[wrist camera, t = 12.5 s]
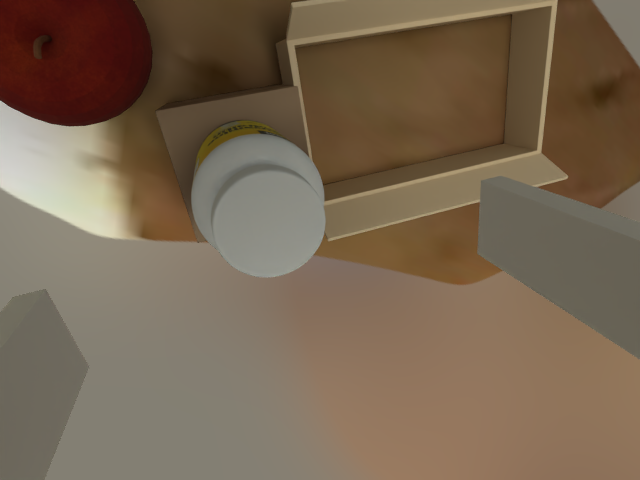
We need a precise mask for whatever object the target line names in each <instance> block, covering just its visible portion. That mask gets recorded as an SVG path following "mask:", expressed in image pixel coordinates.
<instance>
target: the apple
mask: <svg viewBox="0 0 640 480" xmlns="http://www.w3.org/2000/svg"><path fill="white" fill-rule="evenodd" d="M151 68H152V47H151V40H150V35H149V32H148V29H147V26H146V24H145V21H144V18H143V17H142V15H141V13H140V11H139V9H138V8H137V6H136V4H135V2H134V1H133V0H0V100H1V101H2V102H4V103H5V104H6V105H8V106H9V107H11V108H13V109H15V110H18V111H20V112H22V113H24V114H26V115H28V116H30V117H32V118H35V119H38V120H41V121H44V122H48V123H51V124H57V125H63V126H86V125H91V124H95V123H100V122H104V121H107V120H109V119H111V118H113V117H116V116H118V115H120V114H121V113H122V112H124V111H125V110H127V109H128V108H129V107H131V106H132V105H133V103H134V102H135V101H136V100H137V99H138V98H139V97H140V95H141V94H142V92H143V90H144V88H145V86H146V84H147V83H148V79H149V75H150V72H151Z"/></svg>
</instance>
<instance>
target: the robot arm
mask: <svg viewBox="0 0 640 480" xmlns="http://www.w3.org/2000/svg"><path fill="white" fill-rule="evenodd" d="M478 254H479V255H480V256H482V257H483V258H485V259H486V260H488V261H489V262H491V263H492V264H494V265H495V266H497V267H499V268H500V269H502V270H503V271H505V272H506V273H508V274H509V275H511V276H513V277H514V278H515V279H517V280H519V281H520V282H522V283H523V284H525V285H526V286H528V287H529V288H531V289H532V290H534V291H535V292H537V293H538V294H540V295H542V296H543V297H545V298H546V299H548V300H549V301H551V302H552V303H554V304H555V305H557V306H558V307H560V308H562V309H563V310H565V311H566V312H568V313H569V314H571V315H572V316H574V317H575V318H577V319H578V320H580V321H581V322H583V323H585V324H586V325H588V326H589V327H591V328H592V329H594V330H595V331H597V332H598V333H600V334H602V335H603V336H604V337H606V338H608V339H609V340H611V341H612V342H614V343H615V344H617V345H619V346H620V347H621V348H623V349H625V350H626V351H628V352H629V353H631V354H632V355H634V356H635V357H637V358H638V359H640V222H638V221H635V220H632V219H629V218H626V217H623V216H620V215H617V214H614V213H611V212H608V211H605V210H602V209H599V208H596V207H593V206H590V205H587V204H584V203H581V202H578V201H575V200H572V199H569V198H566V197H563V196H560V195H557V194H554V193H551V192H548V191H545V190H542V189H540V188H537V187H534V186H531V185H528V184H525V183H522V182H519V181H516V180H513V179H510V178H507V177H504V176H497V177H493V178H489V179H485V180H481V190H480V212H479V234H478ZM88 368H89V366H88V364H87V362H86V360H85V358H84V357H83V355H82V353H81V351H80V349H79V348H78V346H77V344H76V342H75V341H74V339H73V337H72V335H71V333H70V332H69V330H68V328H67V326H66V325H65V323H64V321H63V319H62V317H61V316H60V314H59V312H58V310H57V309H56V307H55V305H54V303H53V301H52V300H51V298H50V296H49V294H48V292H47V291H46V289H43V290H39V291H35V292H31V293H27V294H23V295H19V296H15V297H13V298H12V299H11V300H10V301H9V303H8V304H7V305H6V306H5V307H4V308H3V310H2V311H1V312H0V480H44V479H45V476H46V474H47V471H48V469H49V466H50V464H51V461H52V459H53V456H54V454H55V451H56V449H57V446H58V444H59V441H60V439H61V436H62V434H63V431H64V429H65V426H66V424H67V421H68V419H69V416H70V414H71V411H72V409H73V406H74V404H75V401H76V398H77V396H78V394H79V391H80V389H81V386H82V383H83V381H84V378H85V376H86V373H87V371H88Z"/></svg>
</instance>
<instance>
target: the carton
mask: <svg viewBox="0 0 640 480" xmlns="http://www.w3.org/2000/svg"><path fill="white" fill-rule="evenodd" d="M557 1H558V0H309V1H301V2H293V3H291V8H290V14H289V20H288V26H287V32H286V39H284V40H282V41H280V42H278V43H276V49H277V55H278V61H279V66H280V72H281V78H282V83H283V85H290V86H298V91H299V97H300V103H301V109H302V115H303V122H304V128H305V134H306V140H307V146H308V153H309V158H310V159H311V160H312V154H311V147H310V141H309V135H308V128H307V122H306V116H305V109H304V103H303V97H302V90H301V84H300V78H299V72H298V65H297V59H296V53H295V48H298V47H304V46H311V45H317V44H324V43H330V42H336V41H343V40H349V39H356V38H362V37H368V36H375V35H381V34H388V33H394V32H401V31H407V30H413V29H420V28H426V27H433V26H439V25H445V24H452V23H458V22H465V21H471V20H477V19H484V18H490V17H497V16H503V15H509V14H512V24H511V40H510V55H509V71H508V86H507V102H506V117H505V133H504V144H499V145H495V146H491V147H487V148H482V149H478V150H474V151H469V152H465V153H461V154H456V155H452V156H448V157H443V158H439V159H435V160H430V161H426V162H422V163H417V164H413V165H409V166H404V167H400V168H396V169H391V170H387V171H383V172H378V173H374V174H370V175H365V176H361V177H357V178H352V179H348V180H344V181H340V182H335V183H331V184H327V185H323V188H324V211H325V218H326V223H325V231H324V233H325V235H326V237H327V240H328V241H331V240H335V239H339V238H343V237H347V236H350V235H354V234H358V233H362V232H366V231H369V230H373V229H377V228H381V227H385V226H389V225H392V224H396V223H400V222H404V221H408V220H412V219H415V218H419V217H423V216H427V215H431V214H434V213H438V212H442V211H446V210H450V209H454V208H457V207H461V206H465V205H469V204H473V203H476V202H480V190H481V180H485V179H489V178H493V177H497V176H504V177H507V178H510V179H513V180H516V181H519V182H522V183H525V184H528V185H531V186H534V187H538V186H541V185H545V184H549V183H553V182H557V181H561V180H564V179H567V178H568V175H566V174H565V173H564V172H563V171H562V170H560V169H559V168H558V167H557V166H556V165H555V164H553V163H552V162H551V161H550V160H549V159H548V158H546V157H545V156H544V155H543V154H542V153H541V149H542V139H543V130H544V121H545V112H546V102H547V93H548V84H549V75H550V65H551V56H552V47H553V38H554V29H555V19H556V10H557ZM312 162H313V160H312Z"/></svg>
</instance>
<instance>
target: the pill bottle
mask: <svg viewBox="0 0 640 480" xmlns="http://www.w3.org/2000/svg"><path fill="white" fill-rule="evenodd" d="M191 204H192V211H193V216H194V219H195V222H196V224H197V226H198V228H199V230H200V232H201V233H202V235H203V236H204V238H205V239H206V240H207V241H208V242H209V243H210V244H211V245H212V246H213V247H214V248H215V249H217V250H218V251H219V253H220V254H221V255H222V257H223V258H224V259H225V260H226V261H227V262H228V263H229V264H230V265H231V266H233V267H234V268H236V269H237V270H239V271H241V272H243V273H246V274H248V275H252V276H256V277H276V276H281V275H284V274H287V273H290V272H292V271H294V270H296V269H298V268H299V267H301V266H302V265H303V264H305V263H306V262H307V261H308V260H309V259H310V258H311V257H312V256H313V254H314V253H315V252H316V250H317V249H318V247H319V245H320V243H321V241H322V239H323V236H324V231H325V223H326V218H325V211H324V188H323V183H322V180H321V177H320V174H319V172H318V170H317V168H316V166H315V165H314V163H313V162H312V160H311V159H310V158H309V157H308V156H307V154H306V153H305V152H304V151H302V150H301V149H300V148H299V147H297V146H296V145H295V144H293V143H292V142H291V141H289V140H288V139H286V138H285V137H284V136H282V135H281V134H280V133H278V132H277V131H275V130H274V129H273V128H271V127H269V126H268V125H265V124H263V123H260V122H257V121H252V120H236V121H232V122H228V123H225V124H223V125H221V126H219V127H218V128H216V129H215V130H213V131H212V132H211V133H210V134H209V135H208V136H207V137H206V139H205V140H204V141H203V143H202V145H201V147H200V149H199V152H198V155H197V158H196V164H195V170H194V177H193V184H192V192H191Z"/></svg>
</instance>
